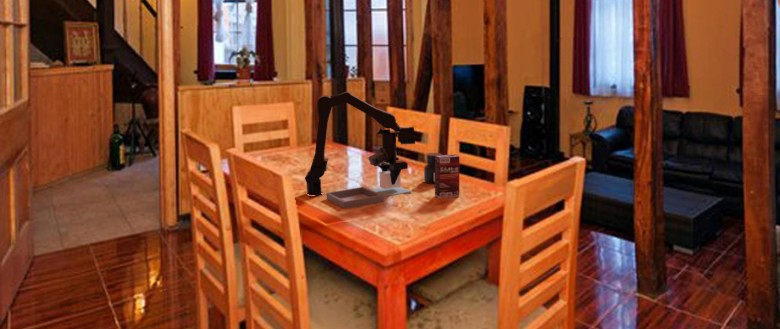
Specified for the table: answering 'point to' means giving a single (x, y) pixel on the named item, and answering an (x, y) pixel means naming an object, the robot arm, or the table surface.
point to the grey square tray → (354, 197)
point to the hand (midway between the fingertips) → (390, 183)
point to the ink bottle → (430, 168)
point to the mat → (391, 191)
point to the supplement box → (447, 176)
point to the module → (388, 180)
